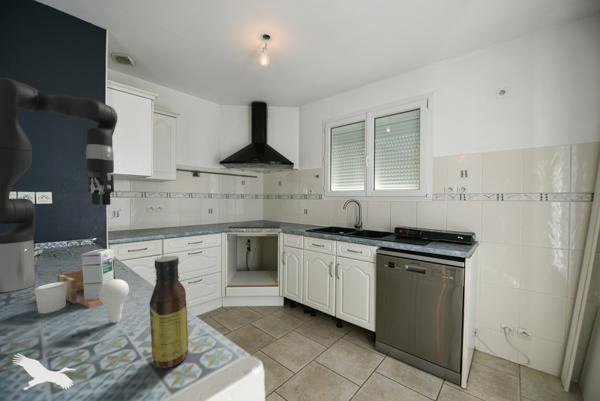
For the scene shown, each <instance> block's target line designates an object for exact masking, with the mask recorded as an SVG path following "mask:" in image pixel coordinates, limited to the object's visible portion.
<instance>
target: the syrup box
mask: <svg viewBox="0 0 600 401" xmlns="http://www.w3.org/2000/svg"><path fill="white" fill-rule="evenodd" d="M81 261H82V263H81V264H82V270H83V283H84V290H83V298H84V299H85V300H95V299H100V298H99V291H100V289H101V287H102V286H103V285H104V284H105V283H106V282H108V281H110V280H114V279H116V266H115V265H116V264H115V250H114V248H102V249H101V248H99V249H95V250H92V251H88V252H84V253H81Z"/></svg>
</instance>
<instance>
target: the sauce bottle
mask: <svg viewBox="0 0 600 401" xmlns="http://www.w3.org/2000/svg"><path fill="white" fill-rule="evenodd" d="M179 261H180V260H179V257H178V256H177V255H169V256H168V255H167V256H161V257H159V258H158V257H157V258H156V259H154V269H155V276H156V277H155V278H156V279H155V285H154V288H153V292H152V294H151V297H150V300H149V317H150V318H149V319H150V321H149V322H150V341H151V342H150V343H151V357H152V359H153V360H152V361H153V362H152V363H153V365H154V367H155V368H160V369H169V368H172V367H175V366H177V365H179V364H180V363H182V362H183V361H184V360H185V359H186V358H187V356H188V353H189V349H188V348H189V327H188V326H189V324H188V322H189V320H188V304H187V297H186V296H187V294H186V288H185V287H184V286H183V284H182V282H180V281H181V280H179V279H180V275H179V263H180V262H179Z"/></svg>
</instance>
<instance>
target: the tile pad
mask: <svg viewBox="0 0 600 401" xmlns="http://www.w3.org/2000/svg"><path fill="white" fill-rule="evenodd" d="M78 303H79V304H80V305H83V306H85V307H87V308H88V309H90V308H94V307H97V306H101V305H104V304H103V303H102V301H101V300H100V299H95V300H85V299H84V297H81V298H79V299H78Z"/></svg>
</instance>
